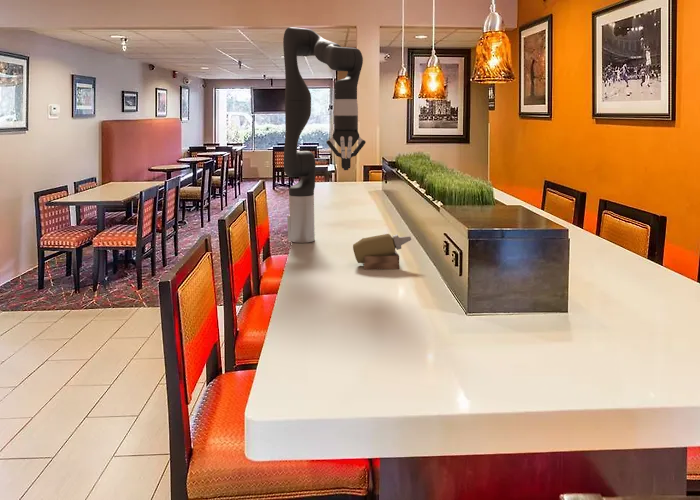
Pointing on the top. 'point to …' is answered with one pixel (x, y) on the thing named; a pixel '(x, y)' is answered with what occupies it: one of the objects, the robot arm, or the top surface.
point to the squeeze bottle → (378, 246)
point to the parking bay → (381, 262)
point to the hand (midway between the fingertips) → (346, 170)
